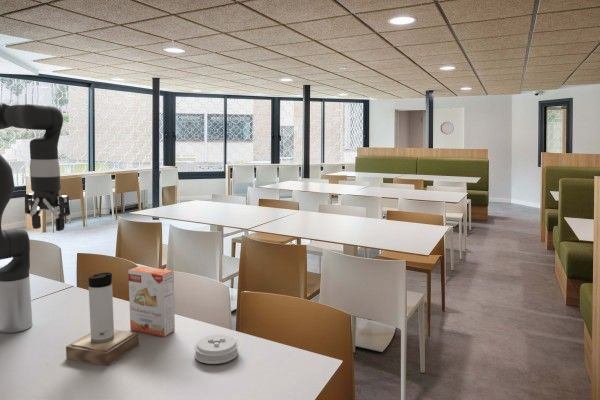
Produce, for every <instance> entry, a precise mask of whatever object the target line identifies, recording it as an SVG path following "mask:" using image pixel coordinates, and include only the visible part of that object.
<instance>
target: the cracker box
mask: <svg viewBox="0 0 600 400" xmlns="http://www.w3.org/2000/svg"><path fill="white" fill-rule="evenodd" d="M127 271H128V296H129V321H130V322H129V326H130V330H131V331H136V332H139V333H144V334H148V335H153V336H157V337H161V338H165V337H166V336H168V335H170V334H172V333H173V332H175V330H176V328H175V327H176V324H175V322H176V321H175V320H176V318H175V284H174V282H175V281H174V280H175V278H174V276H175V275H174V271H173V270H169V269H162V268H156V267H149V266H144V265H138V266H136V267H132V268H130V269H127Z"/></svg>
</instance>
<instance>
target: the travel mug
mask: <svg viewBox="0 0 600 400" xmlns="http://www.w3.org/2000/svg"><path fill="white" fill-rule="evenodd" d="M112 277H113V273H112V272H101V273H100V272H99V273H95V274H93V275H92V276H88V299H89V300H88V304H89V323H90V324H89V327H90V328H89V329H90V333H91V341H92V342H94V343H105V342H108V341H110V340H112V339H113V338H114V330H115V327H114V300H113V298H114V297H113V281H112V280H113V278H112Z"/></svg>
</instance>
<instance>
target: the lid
mask: <svg viewBox="0 0 600 400" xmlns="http://www.w3.org/2000/svg"><path fill="white" fill-rule="evenodd" d="M238 347H239V342H238V340H237V339H236V338H234V337H233V336H231V335H227V334H211V335H207V336H204V337H202V338H200V339H199V340H198V341H197V342H195V344H194V351H195V352H194V358H195V359H196V360H197V361H198V362H199V363H200V362H201V363H205V364H209V365H211V364H213V365H215V364H217V365H218V364H224V363H228V362H230V361H232V360H234V359H235V358H237V356H238V355H239V349H238Z"/></svg>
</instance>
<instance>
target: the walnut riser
mask: <svg viewBox="0 0 600 400" xmlns="http://www.w3.org/2000/svg"><path fill="white" fill-rule="evenodd" d="M139 338H140V337H139V333H138V332H131V331H124V330H120V329H119V330H118V329H114V338H113V339H112V340H110V341H108V342H105V343H94V342H92V341H91V332H90V333H88V334H86V335H85V336H83V337H81V338H79V339H77V340H76V341H74V342H72V343H70V344H68V345H66V346H65V352H66V353H65V354H66V356H65V358H66V360H68V359H69V360H73V361H79V362H84V363H89V364H96V365H100V366H105V367H108V366H109V365H111V364H112V363H114V362H115V361H117V360H118V359H120V358H121V357H123V356H125V355H126V354H127V353H128V352H130V351H132V350H133V349H134V348H136V347H138V346H139Z"/></svg>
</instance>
